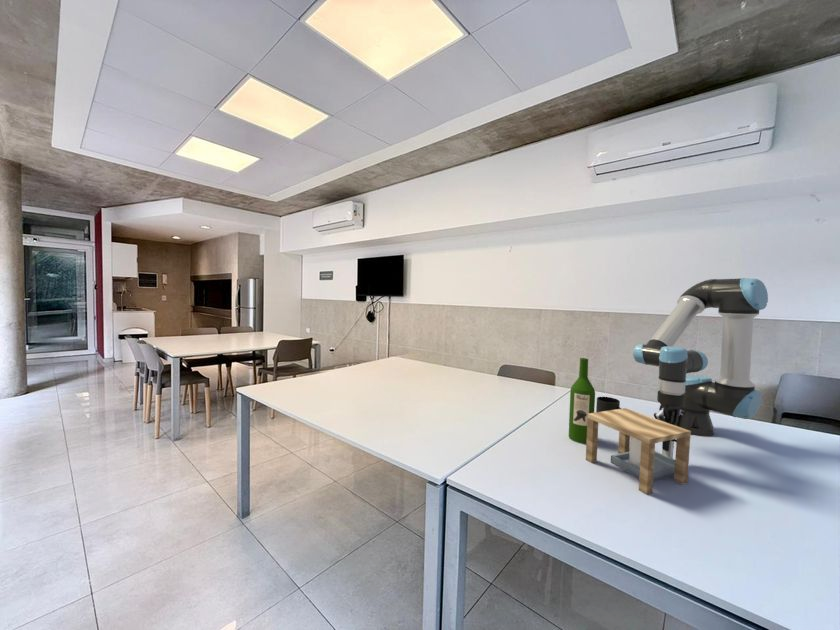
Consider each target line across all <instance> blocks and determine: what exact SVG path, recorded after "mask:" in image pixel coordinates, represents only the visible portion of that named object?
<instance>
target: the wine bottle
mask: <svg viewBox="0 0 840 630" xmlns="http://www.w3.org/2000/svg"><path fill="white" fill-rule="evenodd" d="M578 371H579V372H578V373H579V374H578V378H577V379H576V380H575V381H574V383H573V384H572V385H571V387H570V392H569V393H570V394H569V418H568V419H569V420H568V438H569V439H570V440H571V441H573V442H576V443H579V444H586V442H587V420H588V414H589V413H595V406H596V405H595V403H596V392H595V391H596V390H595V388H594V386H593V384H592V383H591V381H590V380H589V359H588V358H584V357H580V358H579V369H578Z"/></svg>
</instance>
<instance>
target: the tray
mask: <svg viewBox="0 0 840 630" xmlns="http://www.w3.org/2000/svg"><path fill="white" fill-rule="evenodd" d="M610 464H613V465H615V467H618V468H620V469H622V470H624V471H626V472H628V473H629V474H631V475H633V476H635V477H637V478H638V479H639V475H640V469H639V468H637V467H635V466H633V465H631V464H630V463H629V452H625V453H617V454H612V455H610ZM674 473H675V459H674V458H673V459H672V458H670V457H667V456H665V455H663V454H662V453H661V452H657V451H656V450H655V454H654V471H653V481H657V480H661V479H665V478H668V477H672V476H674Z"/></svg>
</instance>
